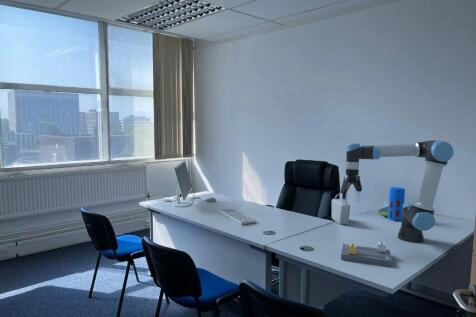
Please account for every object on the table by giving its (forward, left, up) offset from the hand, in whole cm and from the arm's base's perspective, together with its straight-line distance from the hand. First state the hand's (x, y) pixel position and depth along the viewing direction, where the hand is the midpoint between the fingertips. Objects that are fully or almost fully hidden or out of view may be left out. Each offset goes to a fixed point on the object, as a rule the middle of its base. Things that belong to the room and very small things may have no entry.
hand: (350, 202), depth 216 cm
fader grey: (-18, +20, -21) cm, 34 cm away
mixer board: (-10, +25, -25) cm, 36 cm away
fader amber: (-3, +30, -21) cm, 36 cm away
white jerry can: (+8, -47, -25) cm, 54 cm away
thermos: (-32, -72, -25) cm, 83 cm away
